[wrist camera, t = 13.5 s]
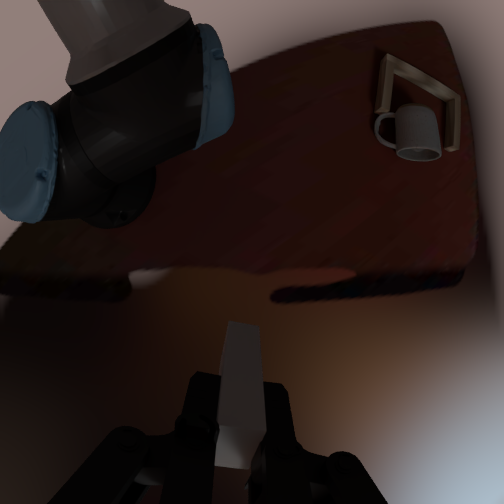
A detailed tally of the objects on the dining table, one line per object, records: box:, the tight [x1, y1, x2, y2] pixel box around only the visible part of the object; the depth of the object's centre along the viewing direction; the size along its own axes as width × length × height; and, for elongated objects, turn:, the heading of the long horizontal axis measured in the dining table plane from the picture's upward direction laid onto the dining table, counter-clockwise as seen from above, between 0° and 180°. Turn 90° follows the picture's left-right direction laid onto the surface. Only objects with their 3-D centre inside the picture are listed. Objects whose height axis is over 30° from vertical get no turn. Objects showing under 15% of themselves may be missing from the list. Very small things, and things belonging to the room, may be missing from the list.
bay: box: [374, 54, 460, 152], centre depth 36 cm, size 17×12×3 cm
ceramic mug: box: [374, 103, 442, 161], centre depth 35 cm, size 11×8×8 cm
